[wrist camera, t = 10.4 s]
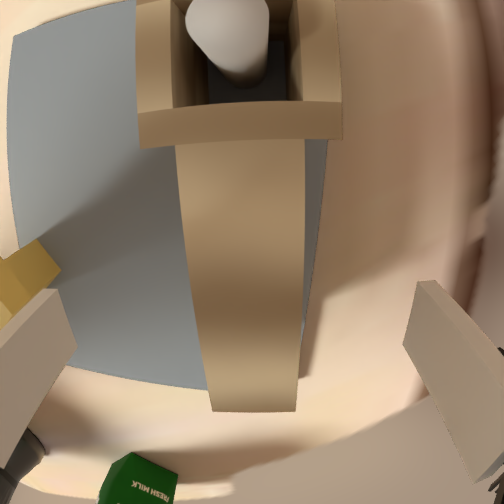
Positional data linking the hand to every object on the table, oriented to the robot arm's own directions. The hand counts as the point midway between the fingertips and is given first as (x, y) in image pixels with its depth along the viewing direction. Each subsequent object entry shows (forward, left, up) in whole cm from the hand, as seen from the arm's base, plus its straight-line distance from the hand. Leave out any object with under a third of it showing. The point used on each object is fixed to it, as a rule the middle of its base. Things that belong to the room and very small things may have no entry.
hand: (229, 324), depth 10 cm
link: (0, +3, -8) cm, 9 cm away
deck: (-6, +1, -10) cm, 12 cm away
